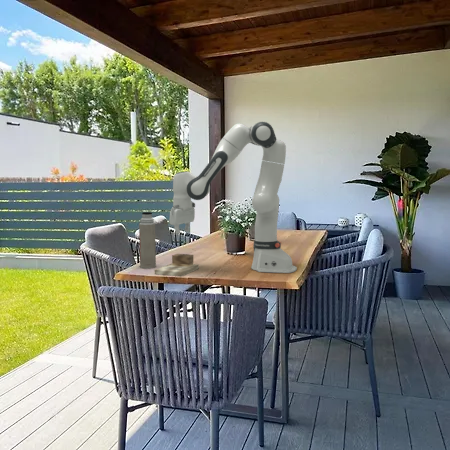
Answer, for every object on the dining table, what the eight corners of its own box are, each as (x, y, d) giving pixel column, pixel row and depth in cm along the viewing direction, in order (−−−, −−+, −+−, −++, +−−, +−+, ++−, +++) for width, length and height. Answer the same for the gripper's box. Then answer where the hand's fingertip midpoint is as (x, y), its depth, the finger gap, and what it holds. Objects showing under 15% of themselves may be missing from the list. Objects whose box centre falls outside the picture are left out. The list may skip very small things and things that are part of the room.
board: (198, 268, 226) (198, 264, 225) (181, 276, 208) (180, 272, 208) (173, 266, 231) (173, 262, 231) (154, 274, 213) (154, 269, 213)
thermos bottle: (138, 268, 226) (137, 212, 223) (141, 265, 234) (140, 211, 231) (154, 268, 226) (153, 212, 223) (157, 265, 234) (156, 211, 231)
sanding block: (193, 264, 226) (193, 254, 225) (188, 266, 221) (188, 256, 220) (177, 263, 229) (177, 253, 229) (172, 265, 224) (172, 255, 223)
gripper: (177, 206, 211) (178, 235, 212) (196, 203, 230) (196, 230, 231) (166, 205, 213) (166, 234, 215) (185, 203, 232) (185, 230, 234)
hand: (182, 232), depth 223 cm, fingers open, 8 cm apart
